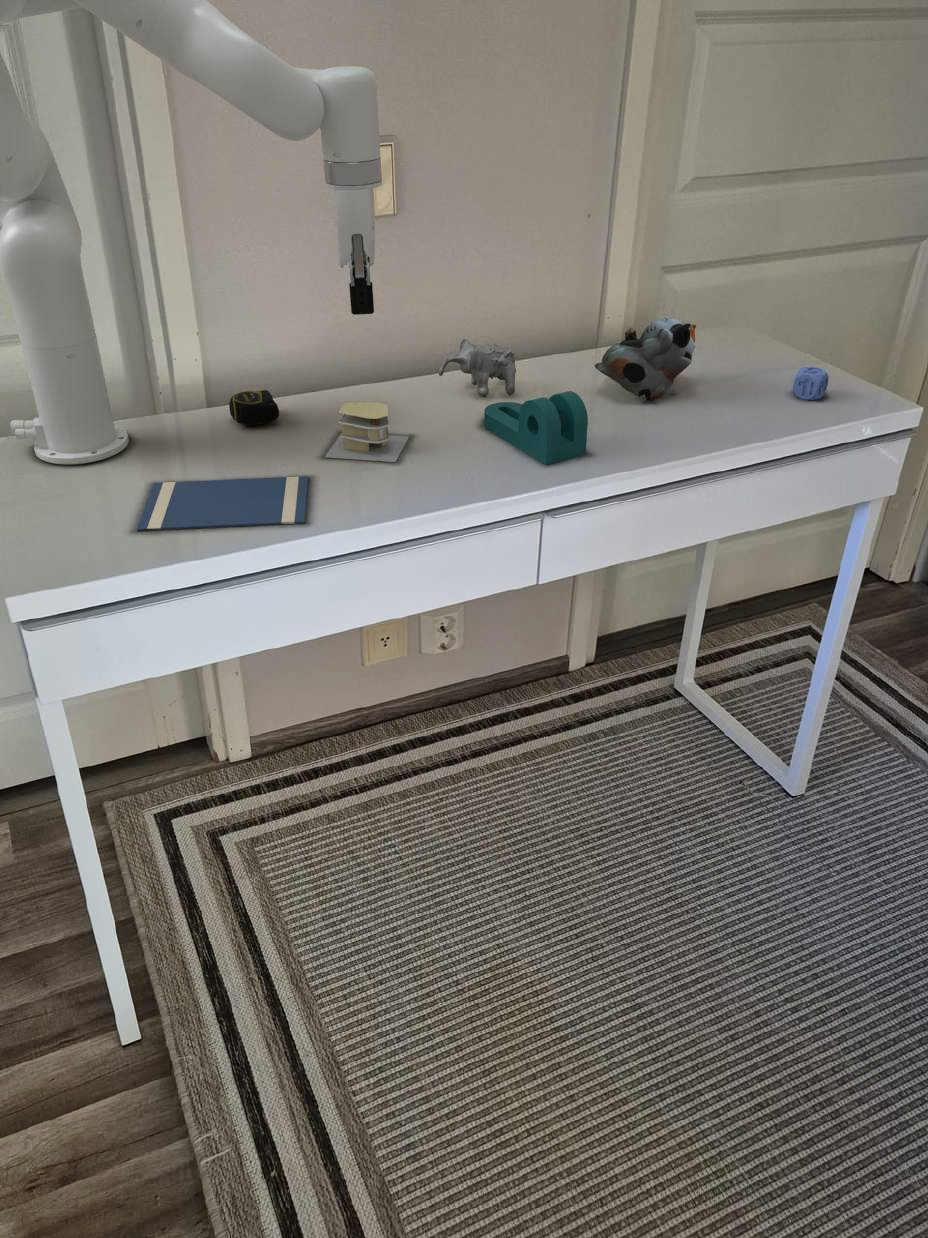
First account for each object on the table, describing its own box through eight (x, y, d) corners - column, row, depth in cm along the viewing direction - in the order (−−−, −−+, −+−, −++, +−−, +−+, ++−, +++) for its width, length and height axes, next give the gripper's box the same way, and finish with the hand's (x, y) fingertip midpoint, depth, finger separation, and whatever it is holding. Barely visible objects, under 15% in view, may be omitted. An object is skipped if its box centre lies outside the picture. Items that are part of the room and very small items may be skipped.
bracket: (585, 454, 142) (589, 399, 138) (545, 464, 139) (548, 409, 135) (513, 413, 155) (514, 362, 151) (475, 422, 152) (475, 370, 148)
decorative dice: (790, 396, 160) (795, 371, 158) (802, 389, 163) (806, 364, 161) (815, 402, 158) (819, 377, 156) (826, 395, 161) (830, 370, 159)
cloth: (137, 531, 123) (136, 528, 123) (154, 484, 134) (153, 482, 134) (304, 523, 125) (304, 521, 125) (308, 478, 136) (308, 475, 136)
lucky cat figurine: (613, 368, 171) (660, 293, 165) (670, 409, 168) (721, 335, 162) (580, 368, 158) (631, 287, 152) (642, 413, 155) (696, 332, 149)
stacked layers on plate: (324, 457, 141) (321, 419, 138) (341, 432, 149) (339, 396, 146) (395, 462, 140) (393, 424, 137) (409, 436, 147) (407, 400, 144)
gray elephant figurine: (527, 394, 162) (528, 346, 158) (461, 408, 157) (461, 359, 153) (496, 376, 168) (497, 330, 164) (432, 390, 163) (431, 342, 159)
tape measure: (281, 426, 151) (278, 402, 149) (234, 432, 149) (231, 407, 147) (274, 410, 156) (271, 386, 154) (228, 415, 155) (225, 391, 153)
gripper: (325, 164, 141) (336, 298, 151) (323, 184, 129) (335, 329, 139) (380, 162, 142) (387, 296, 152) (383, 182, 129) (391, 327, 139)
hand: (362, 312), depth 145 cm, fingers closed
